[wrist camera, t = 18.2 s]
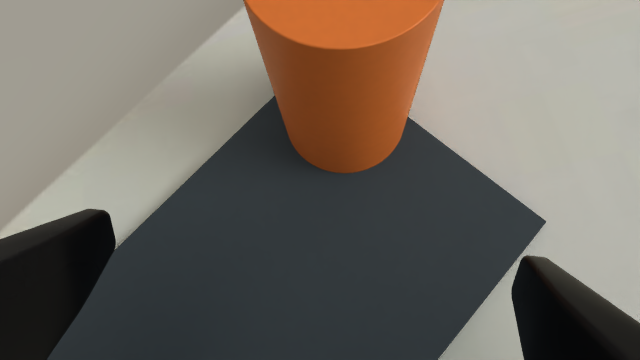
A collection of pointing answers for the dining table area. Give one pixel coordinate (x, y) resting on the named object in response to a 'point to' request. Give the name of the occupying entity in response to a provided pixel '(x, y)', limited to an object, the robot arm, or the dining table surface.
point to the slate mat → (305, 258)
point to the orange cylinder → (344, 72)
